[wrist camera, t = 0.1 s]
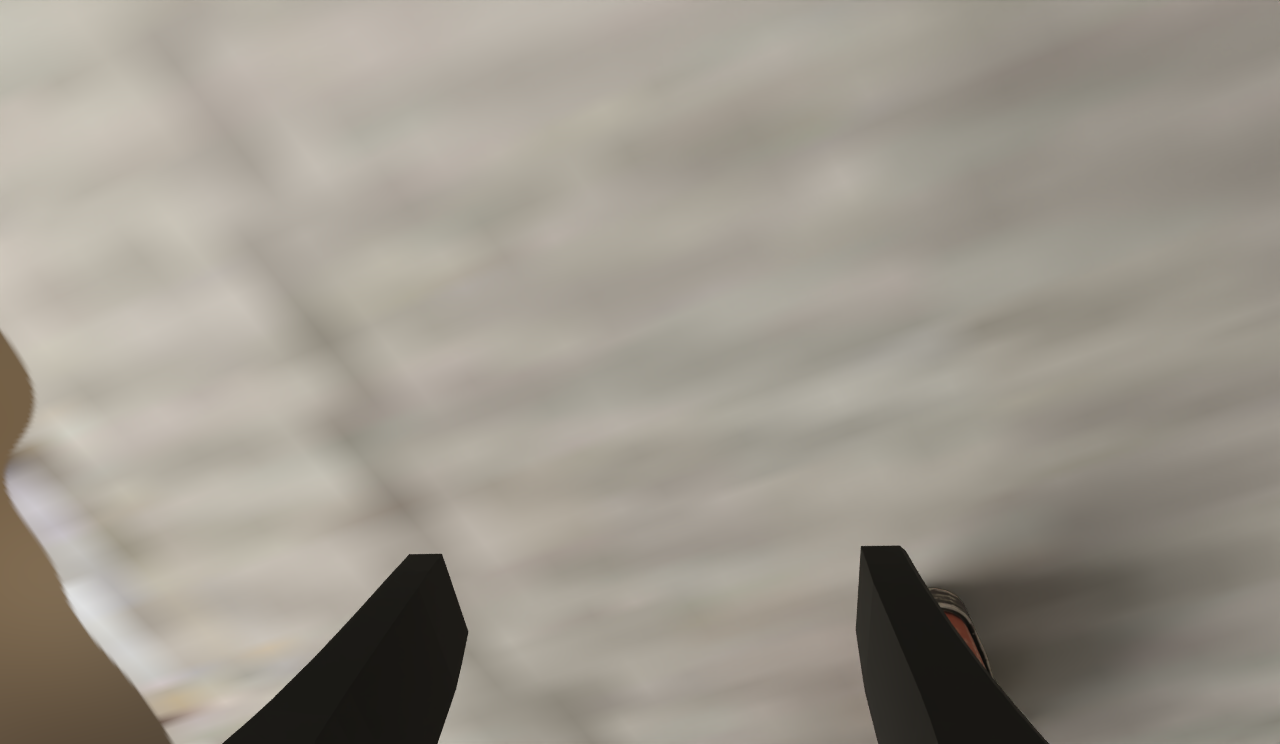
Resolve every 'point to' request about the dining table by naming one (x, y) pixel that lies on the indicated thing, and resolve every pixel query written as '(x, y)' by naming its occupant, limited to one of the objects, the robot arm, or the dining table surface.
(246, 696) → the dining table surface
